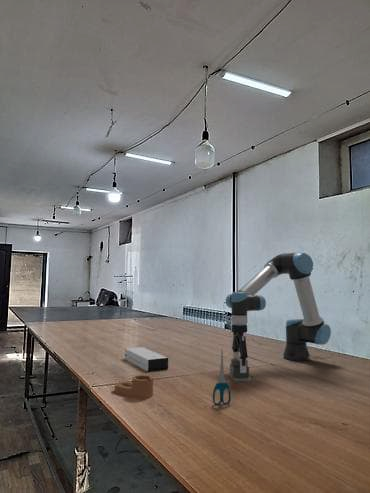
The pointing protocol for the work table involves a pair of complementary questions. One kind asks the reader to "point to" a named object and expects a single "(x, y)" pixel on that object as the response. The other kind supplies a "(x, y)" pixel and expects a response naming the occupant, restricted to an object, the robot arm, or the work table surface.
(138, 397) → the bracket
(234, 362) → the knob
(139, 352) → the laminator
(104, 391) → the work table surface
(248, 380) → the mounting plate
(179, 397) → the work table surface
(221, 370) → the scissors
